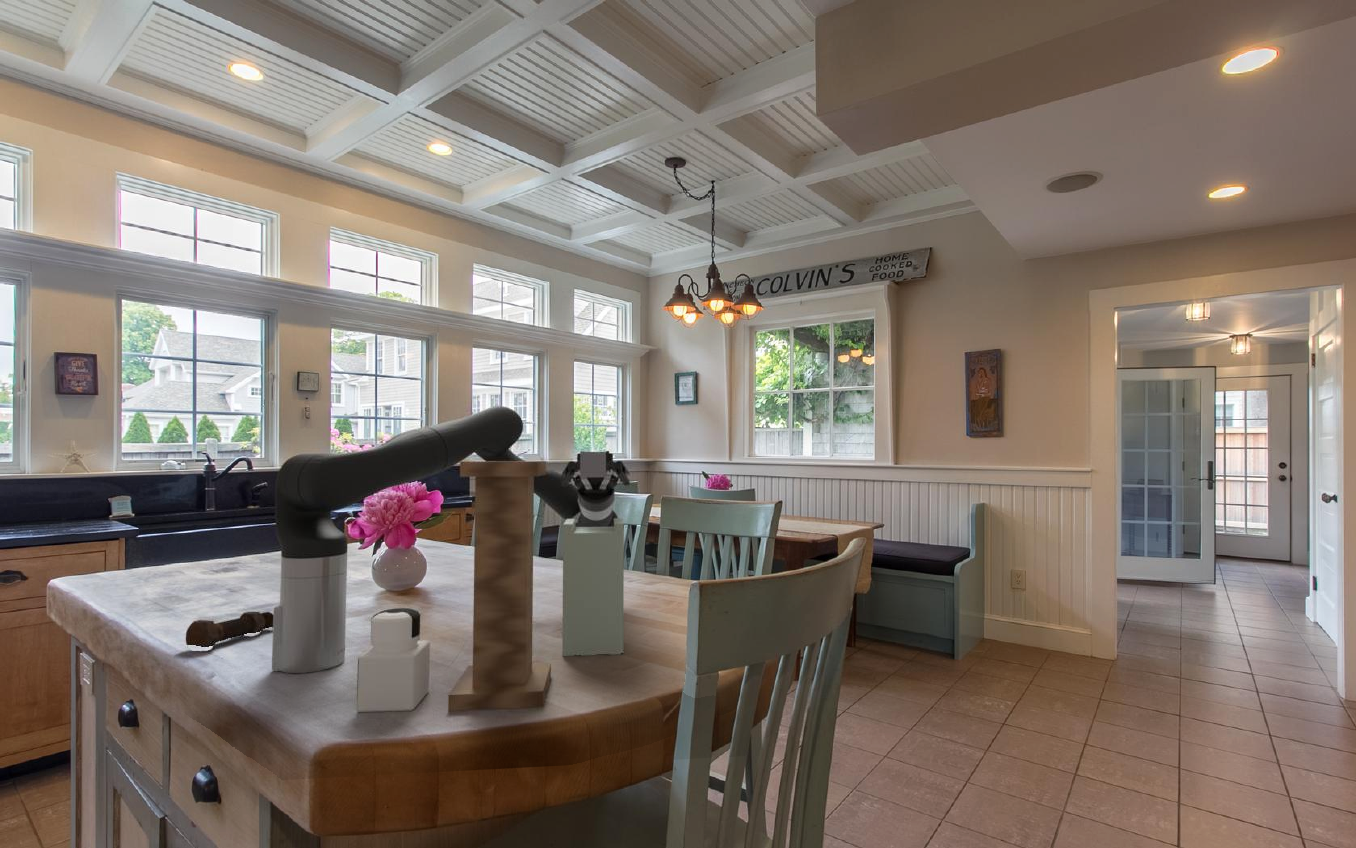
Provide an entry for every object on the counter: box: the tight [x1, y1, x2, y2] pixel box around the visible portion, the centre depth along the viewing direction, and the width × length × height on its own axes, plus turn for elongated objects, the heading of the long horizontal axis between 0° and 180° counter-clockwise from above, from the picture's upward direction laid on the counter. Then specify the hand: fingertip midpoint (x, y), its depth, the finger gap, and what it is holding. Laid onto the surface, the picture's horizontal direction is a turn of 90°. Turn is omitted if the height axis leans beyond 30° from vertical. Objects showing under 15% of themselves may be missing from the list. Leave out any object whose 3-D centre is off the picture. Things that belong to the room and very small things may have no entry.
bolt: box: [185, 610, 273, 647], centre depth 118 cm, size 6×5×15 cm
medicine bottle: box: [356, 607, 431, 713], centre depth 87 cm, size 7×7×12 cm
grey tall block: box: [561, 517, 625, 657], centre depth 113 cm, size 10×10×22 cm
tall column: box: [447, 460, 552, 712], centre depth 91 cm, size 12×12×32 cm
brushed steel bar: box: [579, 451, 606, 477], centre depth 114 cm, size 4×24×4 cm, turn 6°
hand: (595, 455), depth 121 cm, fingers closed on brushed steel bar, 4 cm apart
